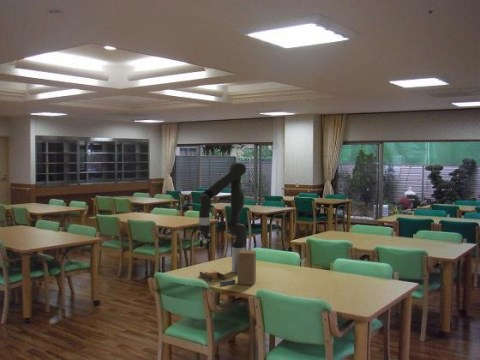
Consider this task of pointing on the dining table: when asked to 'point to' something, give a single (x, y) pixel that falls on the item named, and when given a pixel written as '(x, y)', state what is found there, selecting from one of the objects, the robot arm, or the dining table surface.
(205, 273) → the walnut chute
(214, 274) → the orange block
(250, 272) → the wooden block
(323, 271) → the dining table surface
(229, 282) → the bar
